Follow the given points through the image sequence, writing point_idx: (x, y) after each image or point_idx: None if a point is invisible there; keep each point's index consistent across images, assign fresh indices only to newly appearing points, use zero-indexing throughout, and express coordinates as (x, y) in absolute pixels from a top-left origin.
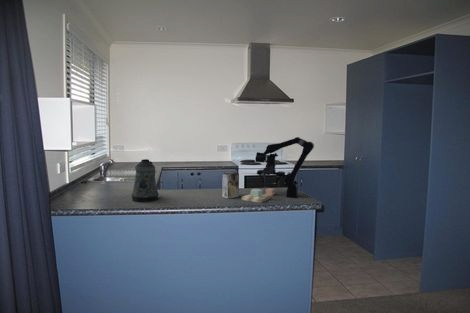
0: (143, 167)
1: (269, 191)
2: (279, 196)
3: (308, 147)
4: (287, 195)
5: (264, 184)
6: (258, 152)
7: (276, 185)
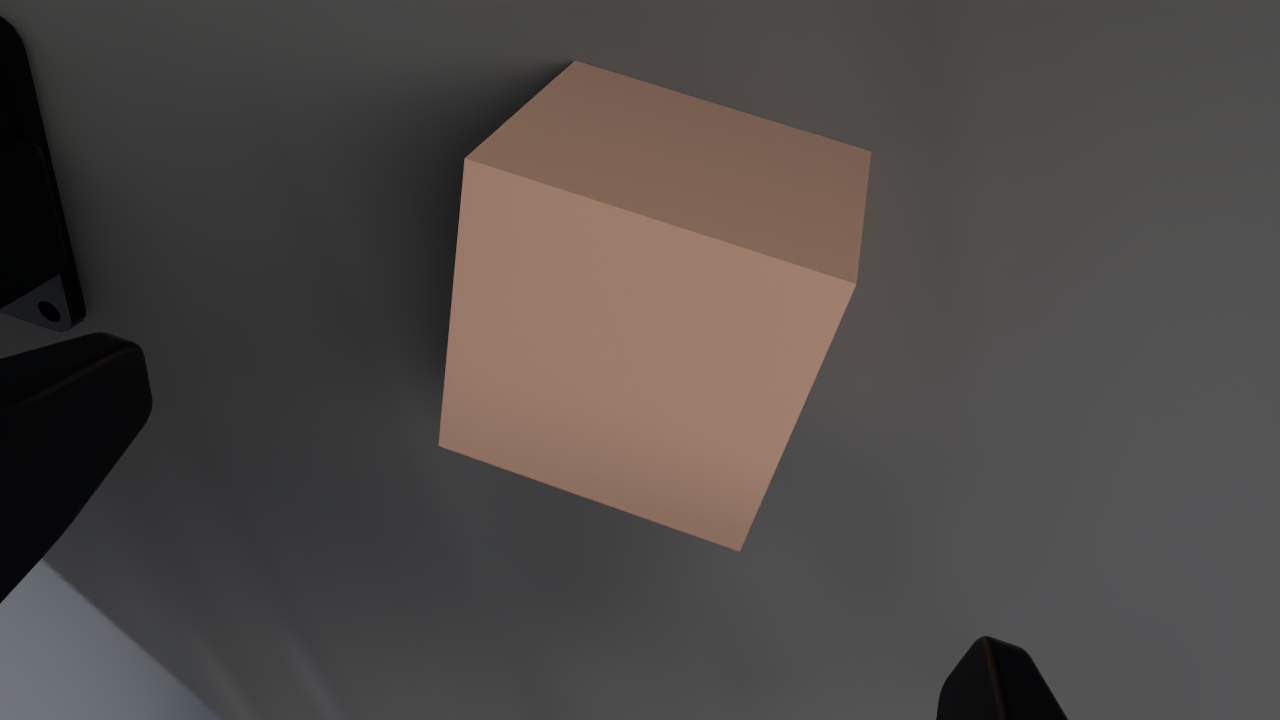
0: None
1: (643, 168)
2: (249, 9)
3: None
4: (3, 115)
5: (979, 667)
6: None
7: (69, 355)
